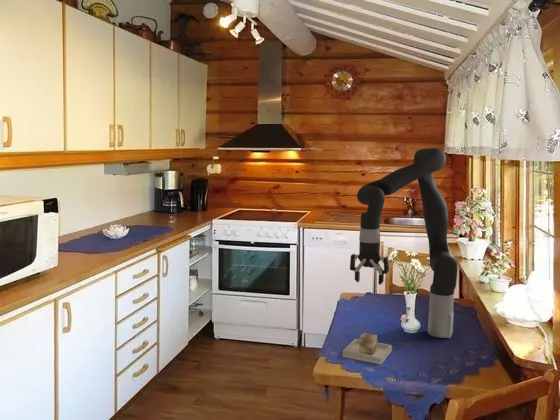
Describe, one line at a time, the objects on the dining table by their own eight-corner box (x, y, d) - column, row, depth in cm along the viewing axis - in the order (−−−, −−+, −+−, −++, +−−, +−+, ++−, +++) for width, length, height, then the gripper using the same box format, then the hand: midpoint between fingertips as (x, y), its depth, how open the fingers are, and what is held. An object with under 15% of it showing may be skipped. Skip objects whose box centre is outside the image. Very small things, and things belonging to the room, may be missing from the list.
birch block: (376, 350, 202) (377, 335, 201) (372, 355, 197) (373, 339, 196) (363, 348, 204) (363, 332, 203) (359, 352, 199) (359, 336, 199)
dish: (391, 351, 204) (391, 345, 203) (380, 364, 191) (380, 358, 191) (355, 344, 210) (355, 338, 210) (342, 356, 198) (342, 350, 197)
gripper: (391, 239, 205) (390, 282, 207) (354, 237, 210) (353, 278, 213) (386, 243, 198) (385, 287, 200) (348, 240, 204) (347, 283, 206)
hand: (368, 282), depth 206 cm, fingers open, 8 cm apart
